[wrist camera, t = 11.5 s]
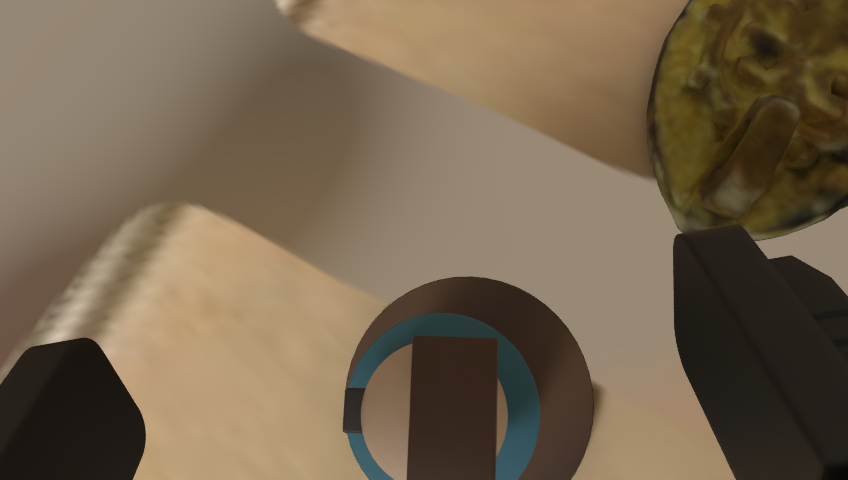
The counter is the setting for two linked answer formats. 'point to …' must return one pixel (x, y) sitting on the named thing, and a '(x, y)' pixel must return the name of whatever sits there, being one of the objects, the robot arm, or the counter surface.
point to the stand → (539, 346)
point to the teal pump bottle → (442, 403)
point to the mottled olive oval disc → (752, 115)
